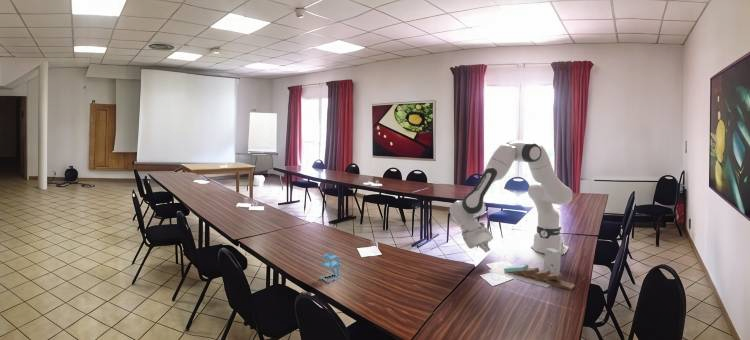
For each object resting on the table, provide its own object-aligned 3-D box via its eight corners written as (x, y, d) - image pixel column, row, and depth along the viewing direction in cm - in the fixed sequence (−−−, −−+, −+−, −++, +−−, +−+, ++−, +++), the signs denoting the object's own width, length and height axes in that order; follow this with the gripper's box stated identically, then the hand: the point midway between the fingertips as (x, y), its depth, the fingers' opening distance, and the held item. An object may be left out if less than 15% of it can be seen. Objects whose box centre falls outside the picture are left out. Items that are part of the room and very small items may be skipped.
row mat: (501, 265, 189) (501, 264, 189) (558, 280, 169) (558, 279, 169) (488, 272, 180) (488, 270, 180) (547, 288, 160) (547, 287, 160)
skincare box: (543, 272, 178) (544, 248, 177) (550, 271, 180) (551, 247, 179) (552, 277, 173) (553, 252, 172) (560, 276, 174) (561, 251, 173)
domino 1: (503, 268, 178) (523, 267, 171) (508, 266, 182) (527, 264, 175) (504, 272, 178) (523, 270, 171) (509, 269, 182) (528, 267, 174)
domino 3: (523, 274, 171) (544, 272, 164) (528, 271, 175) (549, 269, 167) (524, 277, 171) (546, 276, 164) (529, 274, 174) (550, 273, 167)
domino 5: (546, 279, 164) (570, 287, 157) (551, 276, 167) (575, 284, 160) (546, 283, 164) (570, 291, 157) (550, 280, 167) (574, 288, 160)
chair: (343, 278, 174) (343, 253, 173) (330, 283, 168) (329, 257, 167) (332, 274, 179) (332, 249, 178) (319, 278, 173) (319, 253, 172)
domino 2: (513, 271, 175) (533, 269, 168) (518, 268, 178) (538, 267, 171) (514, 274, 174) (534, 273, 167) (519, 272, 178) (539, 270, 171)
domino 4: (534, 277, 168) (556, 275, 160) (539, 274, 171) (561, 272, 164) (535, 280, 167) (557, 279, 160) (540, 277, 171) (562, 276, 164)
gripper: (464, 228, 183) (481, 252, 177) (485, 222, 198) (501, 243, 191) (456, 235, 187) (473, 259, 181) (477, 229, 201) (493, 250, 195)
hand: (488, 251), depth 186 cm, fingers closed
